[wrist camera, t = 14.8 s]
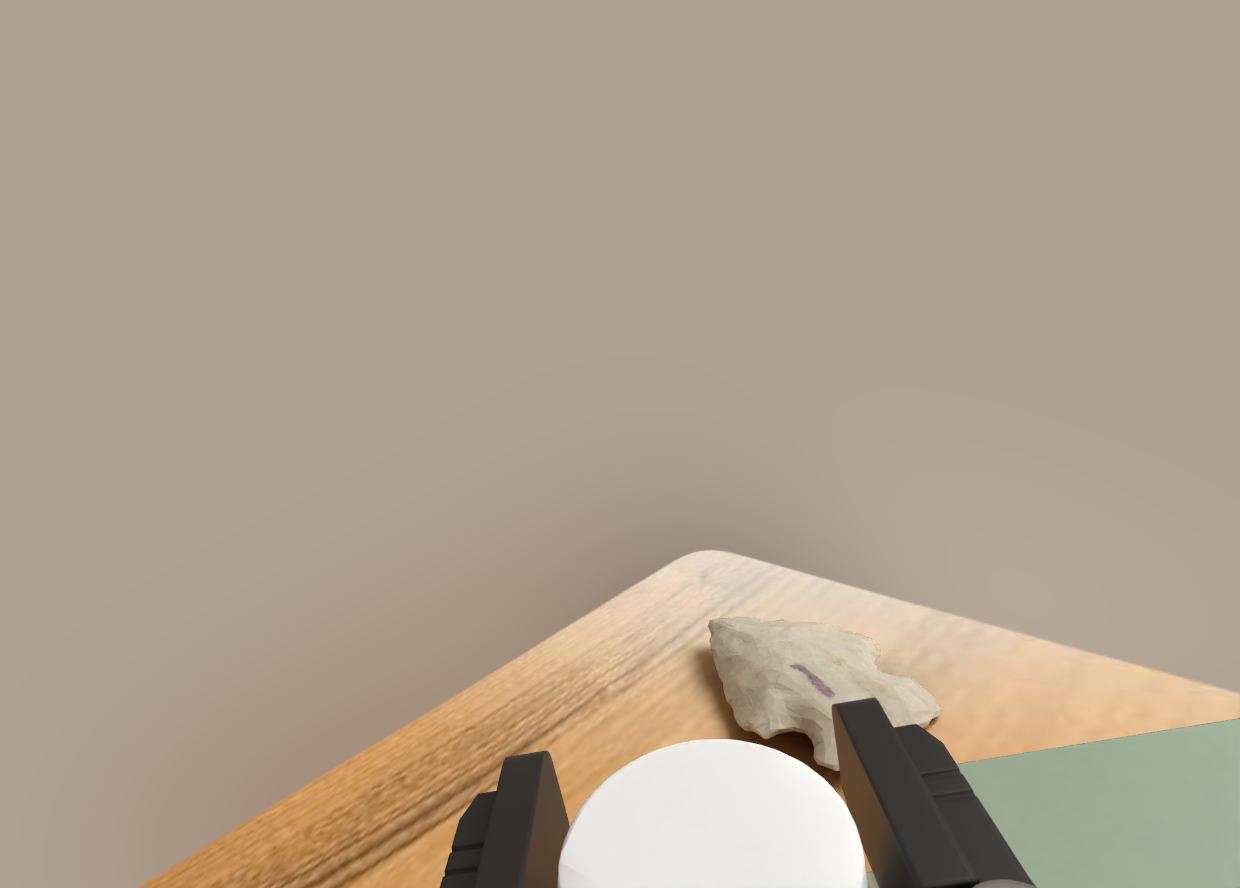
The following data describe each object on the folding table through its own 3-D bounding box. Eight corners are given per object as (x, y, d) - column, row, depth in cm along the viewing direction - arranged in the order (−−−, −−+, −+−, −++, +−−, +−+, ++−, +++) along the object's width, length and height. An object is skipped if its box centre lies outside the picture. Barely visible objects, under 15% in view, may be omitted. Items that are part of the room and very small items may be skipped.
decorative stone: (836, 829, 27) (838, 769, 25) (649, 671, 36) (645, 623, 35) (959, 725, 31) (965, 670, 30) (763, 608, 40) (762, 563, 39)
